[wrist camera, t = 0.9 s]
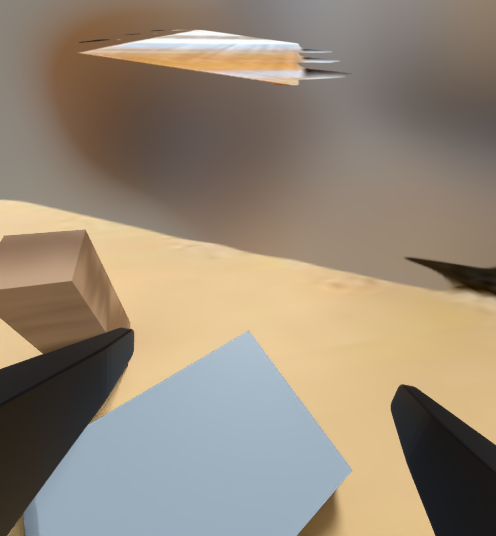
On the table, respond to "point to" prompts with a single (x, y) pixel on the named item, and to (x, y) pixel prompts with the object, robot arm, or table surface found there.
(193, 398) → the book
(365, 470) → the table surface
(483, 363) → the table surface
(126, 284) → the table surface
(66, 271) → the brown wooden block
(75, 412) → the robot arm
